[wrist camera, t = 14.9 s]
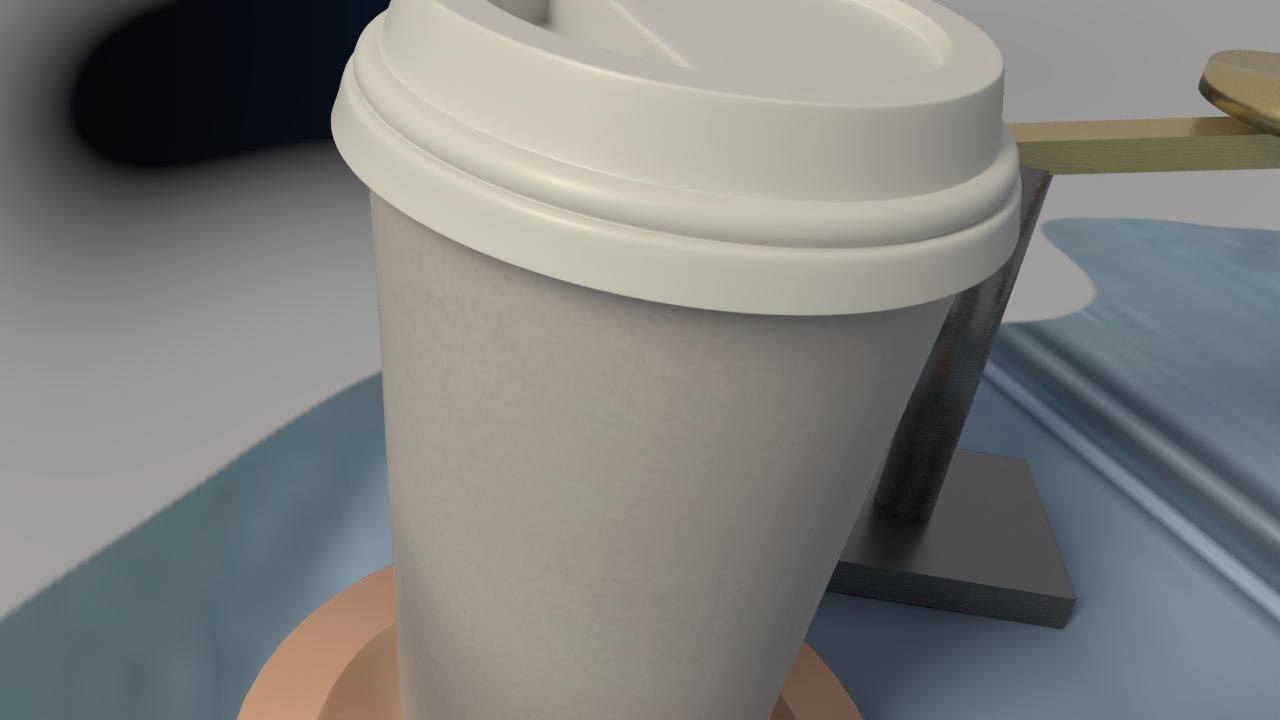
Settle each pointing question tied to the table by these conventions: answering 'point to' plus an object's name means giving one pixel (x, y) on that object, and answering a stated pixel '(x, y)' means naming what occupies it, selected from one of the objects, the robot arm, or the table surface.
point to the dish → (369, 672)
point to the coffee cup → (654, 324)
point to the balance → (937, 410)
